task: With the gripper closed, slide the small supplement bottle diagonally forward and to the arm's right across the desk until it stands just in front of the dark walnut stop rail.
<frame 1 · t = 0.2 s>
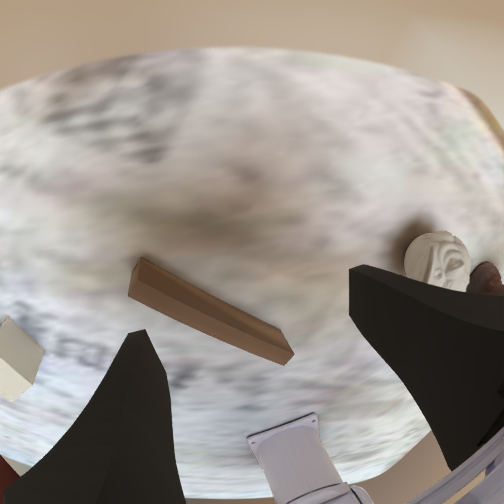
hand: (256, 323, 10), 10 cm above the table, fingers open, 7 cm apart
cream ceramic block: (16, 344, 18), on the table
white carved rounded piece: (409, 250, 25), on the table
mortar and pestle: (469, 299, 31), on the table
walnut stop rail: (212, 305, 21), on the table
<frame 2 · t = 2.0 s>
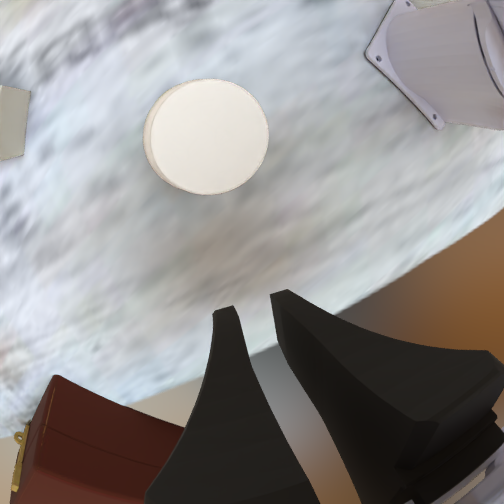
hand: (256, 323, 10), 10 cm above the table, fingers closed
cream ceramic block: (2, 124, 13), on the table
supplement bottle: (190, 133, 17), on the table
box: (85, 446, 25), on the table
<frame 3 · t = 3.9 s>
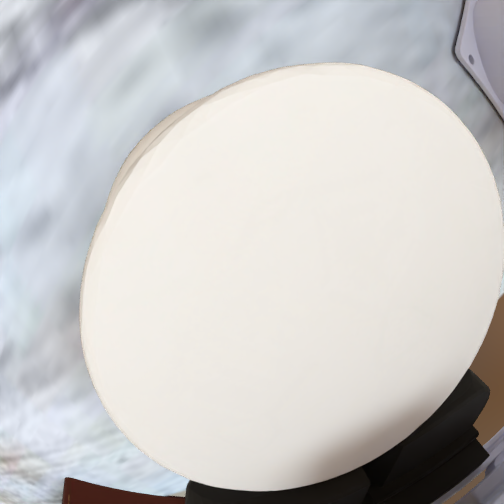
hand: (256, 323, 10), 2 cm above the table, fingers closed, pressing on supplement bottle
supplement bottle: (216, 200, 10), on the table, touching gripper
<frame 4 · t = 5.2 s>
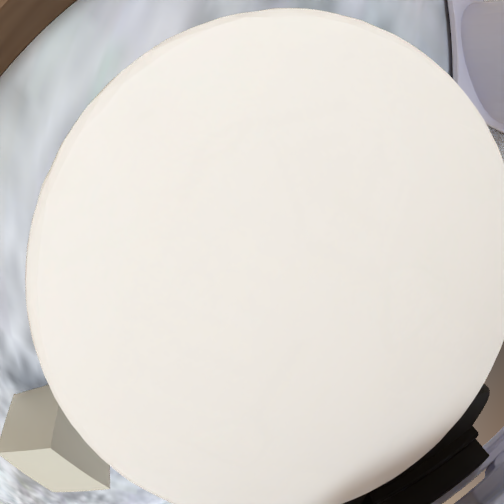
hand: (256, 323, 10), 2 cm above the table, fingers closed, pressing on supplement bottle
cream ceramic block: (61, 411, 12), on the table
supplement bottle: (218, 229, 10), on the table, touching gripper
walnut stop rail: (18, 37, 6), on the table
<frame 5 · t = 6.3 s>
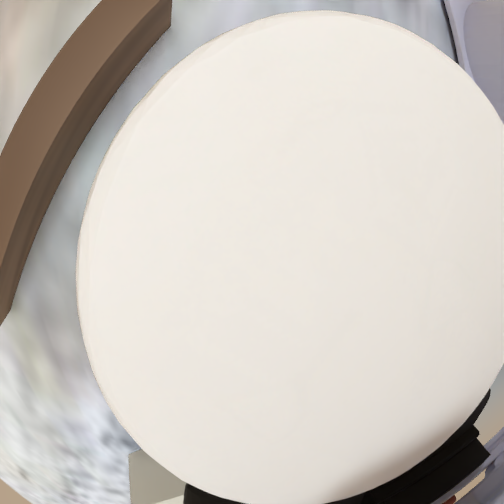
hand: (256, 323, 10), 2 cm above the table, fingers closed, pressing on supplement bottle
cream ceramic block: (174, 455, 15), on the table
supplement bottle: (228, 226, 10), on the table, touching gripper
walnut stop rail: (48, 170, 8), on the table
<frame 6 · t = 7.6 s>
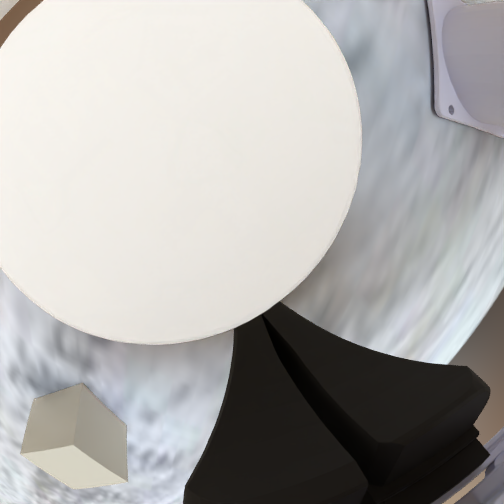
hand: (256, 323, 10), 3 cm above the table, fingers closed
cream ceramic block: (79, 412, 13), on the table
supplement bottle: (161, 136, 10), on the table
walnut stop rail: (24, 70, 7), on the table
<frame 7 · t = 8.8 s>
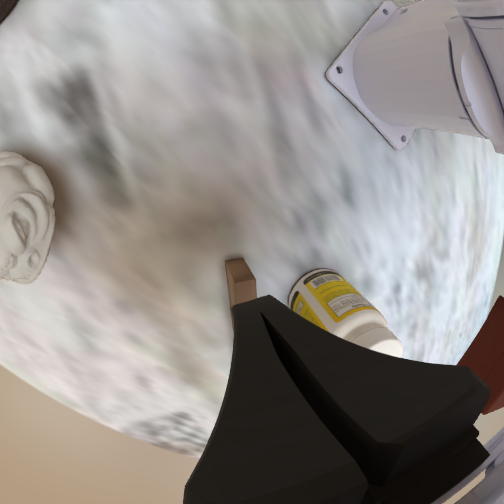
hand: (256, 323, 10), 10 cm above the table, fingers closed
supplement bottle: (315, 294, 23), on the table
white carved rounded piece: (33, 196, 15), on the table
box: (489, 345, 40), on the table
walnut stop rail: (241, 332, 23), on the table
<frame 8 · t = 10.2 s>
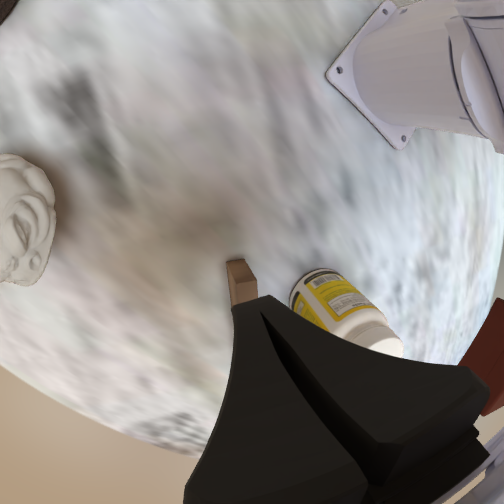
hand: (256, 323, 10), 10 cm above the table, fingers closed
supplement bottle: (316, 294, 23), on the table
white carved rounded piece: (34, 198, 15), on the table
box: (490, 344, 40), on the table
walnut stop rail: (242, 332, 23), on the table
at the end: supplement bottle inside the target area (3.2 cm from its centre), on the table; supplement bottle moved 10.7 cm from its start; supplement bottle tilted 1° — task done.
